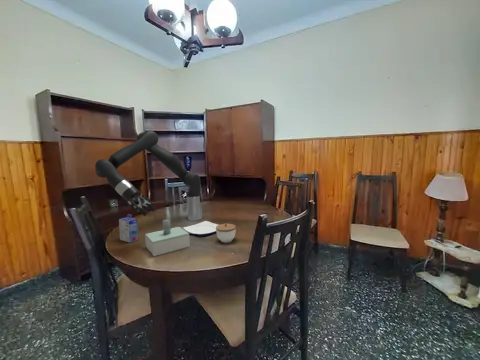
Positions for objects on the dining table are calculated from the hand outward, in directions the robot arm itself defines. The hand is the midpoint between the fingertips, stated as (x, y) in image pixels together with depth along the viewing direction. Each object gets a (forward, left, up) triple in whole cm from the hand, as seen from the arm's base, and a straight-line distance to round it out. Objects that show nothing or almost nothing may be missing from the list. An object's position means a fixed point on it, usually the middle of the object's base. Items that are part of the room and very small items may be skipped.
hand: (150, 212), depth 117 cm
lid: (-6, +6, -13) cm, 15 cm away
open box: (-6, +6, -18) cm, 20 cm away
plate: (-32, -5, -19) cm, 37 cm away
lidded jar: (-34, +18, -18) cm, 42 cm away
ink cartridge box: (+8, -18, -18) cm, 27 cm away
